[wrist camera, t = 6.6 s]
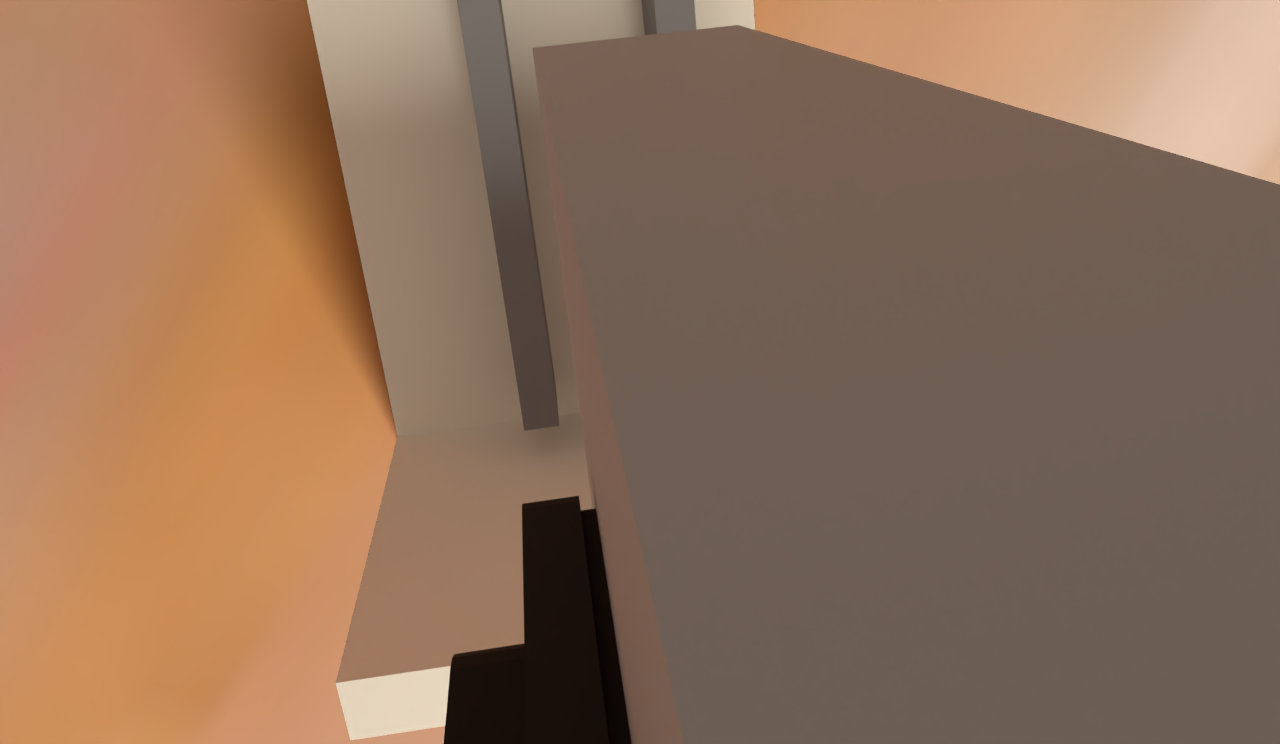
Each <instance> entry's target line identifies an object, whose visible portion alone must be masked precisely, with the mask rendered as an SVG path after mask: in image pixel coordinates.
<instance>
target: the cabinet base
mask: <svg viewBox="0 0 1280 744" xmlns="http://www.w3.org/2000/svg"><path fill="white" fill-rule="evenodd" d="M307 4H308V9H309V14H310V18H311V23H312V28H313V33H314V38H315V42H316V47H317V52H318V57H319V62H320V66H321V71H322V76H323V81H324V86H325V91H326V95H327V100H328V105H329V110H330V115H331V119H332V124H333V129H334V134H335V139H336V143H337V148H338V153H339V158H340V163H341V168H342V172H343V177H344V182H345V187H346V192H347V196H348V201H349V206H350V211H351V216H352V220H353V225H354V230H355V235H356V240H357V244H358V249H359V254H360V259H361V264H362V269H363V273H364V278H365V283H366V288H367V293H368V297H369V302H370V307H371V312H372V317H373V321H374V326H375V331H376V336H377V341H378V346H379V350H380V355H381V360H382V365H383V370H384V374H385V379H386V384H387V389H388V394H389V398H390V403H391V408H392V413H393V418H394V423H395V427H396V432H397V441H396V445H395V449H394V453H393V457H392V461H391V465H390V469H389V473H388V477H387V481H386V485H385V489H384V493H383V497H382V501H381V505H380V509H379V513H378V517H377V521H376V525H375V529H374V533H373V537H372V541H371V545H370V549H369V553H368V557H367V561H366V565H365V569H364V573H363V577H362V581H361V585H360V589H359V593H358V597H357V601H356V605H355V608H354V612H353V616H352V620H351V624H350V628H349V632H348V636H347V640H346V644H345V648H344V652H343V656H342V660H341V664H340V668H339V672H338V676H337V680H336V686H337V690H338V694H339V697H340V701H341V705H342V709H343V713H344V717H345V721H346V725H347V729H348V732H349V736H350V740H356V739H362V738H369V737H375V736H382V735H388V734H395V733H402V732H408V731H415V730H421V729H428V728H434V727H441V726H445V724H446V713H447V701H448V689H449V678H450V667H451V661H452V657H453V656H454V654H458V653H465V652H471V651H478V650H485V649H491V648H498V647H504V646H511V645H517V644H524V599H523V545H522V504H524V503H531V502H538V501H545V500H552V499H559V498H566V497H573V496H579V501H580V508H581V510H588V509H592V501H591V493H590V486H589V478H588V470H587V463H586V455H585V447H584V440H583V432H582V424H581V417H580V409H579V401H578V394H577V386H576V378H575V371H574V363H573V355H572V348H571V340H570V332H569V325H568V317H567V309H566V302H565V294H564V286H563V279H562V271H561V263H560V256H559V248H558V240H557V233H556V225H555V217H554V210H553V202H552V194H551V187H550V179H549V171H548V164H547V156H546V148H545V141H544V133H543V125H542V118H541V110H540V102H539V95H538V87H537V79H536V72H535V64H534V56H533V49H532V48H536V47H545V46H554V45H563V44H572V43H581V42H590V41H599V40H607V39H616V38H625V37H634V36H643V35H652V34H661V33H670V32H679V31H688V30H697V29H706V28H715V27H724V26H733V25H740V26H743V27H746V28H750V29H753V30H755V22H754V4H753V0H307Z"/></svg>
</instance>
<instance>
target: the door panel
mask: <svg viewBox="0 0 1280 744" xmlns="http://www.w3.org/2000/svg"><path fill="white" fill-rule="evenodd" d="M532 49H533V56H534V64H535V72H536V79H537V87H538V95H539V102H540V110H541V118H542V125H543V133H544V141H545V148H546V156H547V164H548V171H549V179H550V187H551V194H552V202H553V210H554V217H555V225H556V233H557V240H558V248H559V256H560V263H561V271H562V279H563V286H564V294H565V302H566V309H567V317H568V325H569V332H570V340H571V348H572V355H573V363H574V371H575V378H576V386H577V394H578V401H579V409H580V417H581V424H582V432H583V440H584V447H585V455H586V463H587V470H588V478H589V486H590V493H591V501H592V509H595V508H596V512H597V518H598V525H599V532H600V538H601V545H602V552H603V558H604V565H605V571H606V578H607V585H608V591H609V598H610V605H611V611H612V618H613V625H614V631H615V638H616V644H617V651H618V658H619V664H620V671H621V678H622V684H623V691H624V697H625V704H626V711H627V717H628V724H629V731H630V737H631V744H1280V185H1278V184H1275V183H1271V182H1268V181H1265V180H1261V179H1258V178H1254V177H1251V176H1248V175H1244V174H1241V173H1237V172H1234V171H1231V170H1227V169H1224V168H1221V167H1217V166H1214V165H1210V164H1207V163H1204V162H1200V161H1197V160H1193V159H1190V158H1187V157H1183V156H1180V155H1177V154H1173V153H1170V152H1166V151H1163V150H1160V149H1156V148H1153V147H1149V146H1146V145H1143V144H1139V143H1136V142H1133V141H1129V140H1126V139H1122V138H1119V137H1116V136H1112V135H1109V134H1105V133H1102V132H1099V131H1095V130H1092V129H1088V128H1085V127H1082V126H1078V125H1075V124H1072V123H1068V122H1065V121H1061V120H1058V119H1055V118H1051V117H1048V116H1044V115H1041V114H1038V113H1034V112H1031V111H1028V110H1024V109H1021V108H1017V107H1014V106H1011V105H1007V104H1004V103H1000V102H997V101H994V100H990V99H987V98H983V97H980V96H977V95H973V94H970V93H967V92H963V91H960V90H956V89H953V88H950V87H946V86H943V85H939V84H936V83H933V82H929V81H926V80H923V79H919V78H916V77H912V76H909V75H906V74H902V73H899V72H895V71H892V70H889V69H885V68H882V67H879V66H875V65H872V64H868V63H865V62H862V61H858V60H855V59H851V58H848V57H845V56H841V55H838V54H834V53H831V52H828V51H824V50H821V49H818V48H814V47H811V46H807V45H804V44H801V43H797V42H794V41H790V40H787V39H784V38H780V37H777V36H774V35H770V34H767V33H763V32H760V31H757V30H753V29H750V28H746V27H743V26H740V25H733V26H724V27H715V28H706V29H697V30H688V31H679V32H670V33H661V34H652V35H643V36H634V37H625V38H616V39H607V40H599V41H590V42H581V43H572V44H563V45H554V46H545V47H536V48H532Z"/></svg>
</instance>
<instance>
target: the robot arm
mask: <svg viewBox="0 0 1280 744" xmlns="http://www.w3.org/2000/svg"><path fill="white" fill-rule="evenodd" d="M522 545H523V599H524V644H517V645H511V646H504V647H498V648H491V649H485V650H478V651H471V652H465V653H458V654H454V656H453V657H452V661H451V667H450V678H449V689H448V701H447V713H446V724H445V736H444V744H631V737H630V731H629V724H628V717H627V711H626V704H625V697H624V691H623V684H622V678H621V671H620V664H619V658H618V651H617V644H616V638H615V631H614V625H613V618H612V611H611V605H610V598H609V591H608V585H607V578H606V571H605V565H604V558H603V552H602V545H601V538H600V532H599V525H598V518H597V512H596V508H595V509H588V510H581V508H580V501H579V496H573V497H566V498H559V499H552V500H545V501H538V502H531V503H524V504H522Z"/></svg>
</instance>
